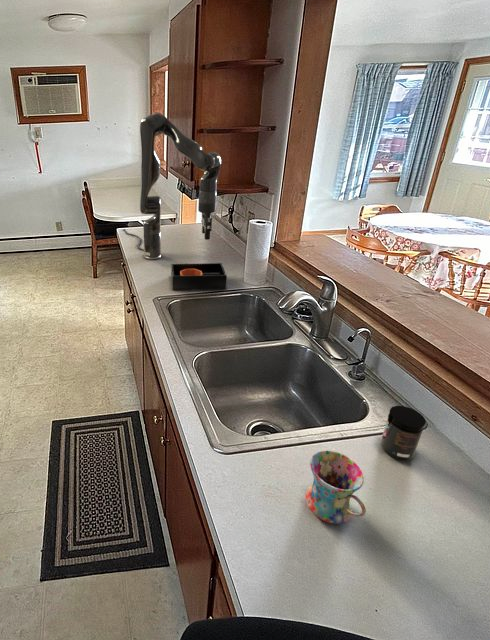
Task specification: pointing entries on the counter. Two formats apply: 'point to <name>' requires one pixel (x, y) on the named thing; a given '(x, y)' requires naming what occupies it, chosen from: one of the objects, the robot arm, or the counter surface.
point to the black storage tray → (198, 277)
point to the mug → (334, 486)
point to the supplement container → (402, 432)
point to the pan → (195, 272)
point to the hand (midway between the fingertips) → (205, 236)
